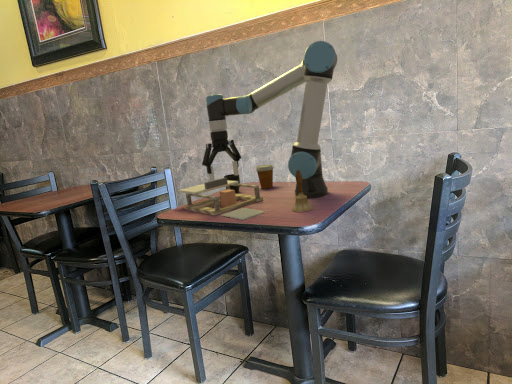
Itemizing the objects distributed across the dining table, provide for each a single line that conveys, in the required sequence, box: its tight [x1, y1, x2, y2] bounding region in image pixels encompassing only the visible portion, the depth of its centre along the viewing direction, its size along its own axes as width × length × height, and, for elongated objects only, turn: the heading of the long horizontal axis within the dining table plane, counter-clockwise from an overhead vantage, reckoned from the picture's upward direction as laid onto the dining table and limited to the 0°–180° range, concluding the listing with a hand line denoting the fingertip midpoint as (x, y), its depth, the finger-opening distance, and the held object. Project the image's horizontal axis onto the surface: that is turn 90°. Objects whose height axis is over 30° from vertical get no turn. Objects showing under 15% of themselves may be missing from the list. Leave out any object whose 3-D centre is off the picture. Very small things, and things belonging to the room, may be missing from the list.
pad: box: [220, 207, 266, 221], centre depth 152 cm, size 14×12×1 cm
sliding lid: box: [177, 177, 238, 195], centre depth 180 cm, size 15×25×4 cm, turn 131°
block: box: [219, 189, 237, 208], centre depth 170 cm, size 5×5×7 cm
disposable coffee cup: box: [255, 164, 274, 190], centre depth 200 cm, size 10×10×12 cm
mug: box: [223, 173, 241, 194], centre depth 200 cm, size 8×12×10 cm
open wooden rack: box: [184, 183, 264, 216], centre depth 173 cm, size 24×28×7 cm
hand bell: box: [291, 170, 314, 213], centre depth 147 cm, size 8×8×16 cm
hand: (224, 177), depth 168 cm, fingers open, 13 cm apart
